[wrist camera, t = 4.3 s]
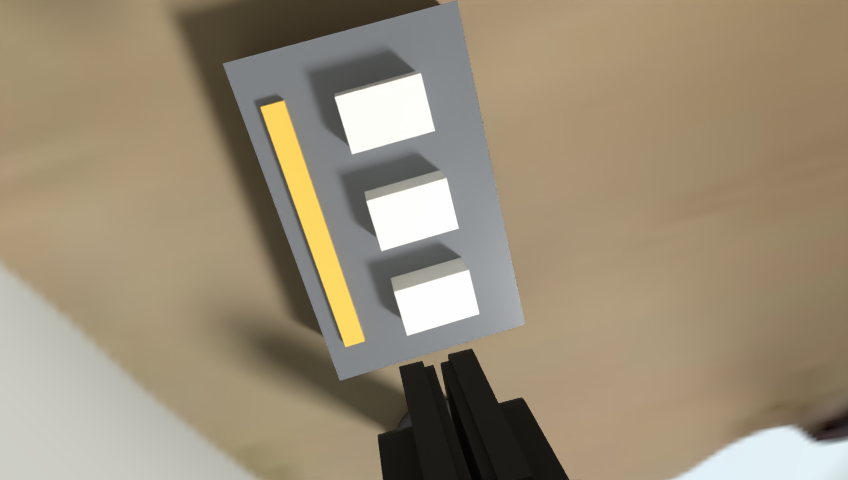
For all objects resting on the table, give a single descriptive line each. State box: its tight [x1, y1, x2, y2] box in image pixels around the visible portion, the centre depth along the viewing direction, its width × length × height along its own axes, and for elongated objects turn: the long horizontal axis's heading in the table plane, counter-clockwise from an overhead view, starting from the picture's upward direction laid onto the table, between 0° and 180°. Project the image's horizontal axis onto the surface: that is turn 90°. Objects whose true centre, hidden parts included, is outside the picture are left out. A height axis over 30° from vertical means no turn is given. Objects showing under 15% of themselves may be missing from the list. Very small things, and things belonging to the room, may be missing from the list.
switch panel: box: [223, 0, 525, 381], centre depth 27 cm, size 16×10×6 cm, turn 14°
